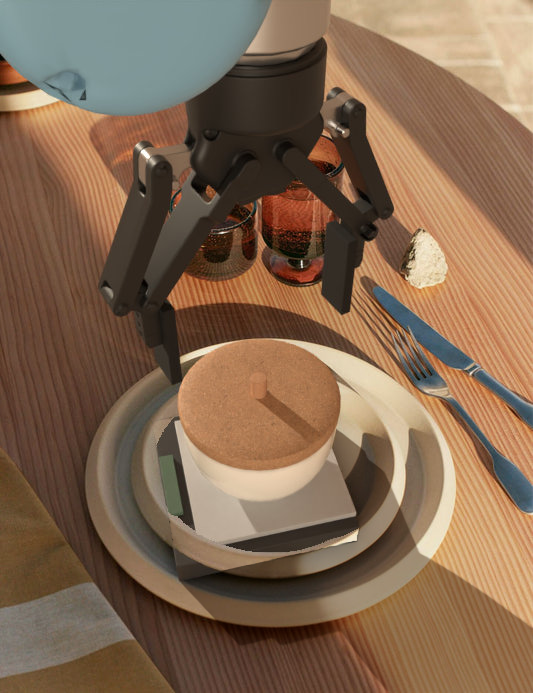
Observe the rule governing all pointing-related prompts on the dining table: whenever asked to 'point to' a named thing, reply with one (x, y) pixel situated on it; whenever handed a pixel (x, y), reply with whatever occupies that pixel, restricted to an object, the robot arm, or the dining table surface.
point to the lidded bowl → (259, 417)
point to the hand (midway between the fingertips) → (255, 335)
